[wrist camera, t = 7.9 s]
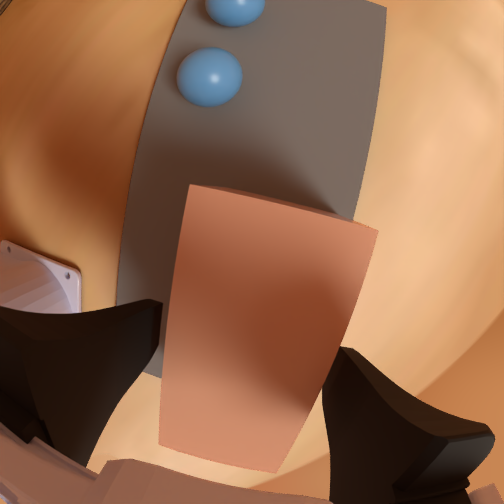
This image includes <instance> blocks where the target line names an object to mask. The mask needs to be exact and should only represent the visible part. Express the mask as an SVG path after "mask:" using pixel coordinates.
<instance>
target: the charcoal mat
mask: <svg viewBox="0 0 504 504" xmlns="http://www.w3.org/2000/svg"><path fill="white" fill-rule="evenodd" d="M386 11H387V8H386V7H383V6H381V5H378V4H375V3H372V2H369V1H366V0H265V7H264V10H263V12H262V14H261V15H260V16H259V17H258V18H257V19H256V20H255V21H254V22H252V23H250V24H248V25H245V26H241V27H228V26H224V25H221V24H219V23H217V22H215V21H214V20H213V19H212V18H211V17H210V16H209V14H208V13H207V11H206V7H205V0H187V2H186V4H185V7H184V9H183V11H182V13H181V16H180V18H179V20H178V23H177V25H176V27H175V30H174V32H173V35H172V37H171V40H170V43H169V45H168V48H167V50H166V53H165V56H164V59H163V62H162V64H161V67H160V70H159V73H158V76H157V79H156V82H155V86H154V89H153V92H152V95H151V99H150V102H149V106H148V109H147V113H146V116H145V120H144V124H143V128H142V132H141V136H140V140H139V144H138V148H137V153H136V157H135V162H134V167H133V172H132V177H131V182H130V188H129V193H128V199H127V205H126V212H125V218H124V226H123V233H122V241H121V250H120V260H119V272H118V285H117V303H116V306H119V305H123V304H127V303H131V302H135V301H139V300H143V299H153V300H156V301H159V302H162V303H163V310H162V319H161V328H160V338H159V346H158V347H157V349H156V351H155V353H154V355H153V357H152V358H151V360H150V362H149V363H148V365H147V366H146V367H145V369H144V370H143V372H145V373H148V374H151V375H153V376H156V377H159V378H162V370H163V359H164V348H165V338H166V329H167V320H168V312H169V304H170V296H171V289H172V282H173V275H174V268H175V262H176V256H177V250H178V244H179V238H180V232H181V227H182V221H183V216H184V210H185V205H186V200H187V195H188V190H189V186H190V184H194V185H206V186H217V187H227V188H232V189H237V190H241V191H246V192H250V193H255V194H259V195H263V196H268V197H272V198H276V199H280V200H284V201H288V202H292V203H296V204H300V205H304V206H308V207H312V208H316V209H320V210H323V211H327V212H331V213H335V214H338V215H341V216H343V217H346V218H348V219H351V220H353V217H354V213H355V209H356V205H357V201H358V197H359V193H360V188H361V184H362V180H363V175H364V171H365V166H366V161H367V156H368V151H369V146H370V141H371V136H372V130H373V125H374V119H375V113H376V107H377V100H378V93H379V86H380V78H381V70H382V62H383V52H384V41H385V28H386ZM205 47H217V48H222V49H224V50H226V51H228V52H230V53H231V54H233V55H234V56H235V57H236V59H237V60H238V61H239V63H240V65H241V68H242V74H243V78H242V83H241V86H240V89H239V90H238V92H237V93H236V95H235V96H234V97H233V98H232V99H231V100H229V101H228V102H226V103H224V104H222V105H219V106H215V107H201V106H197V105H194V104H192V103H190V102H189V101H188V100H186V99H185V98H184V97H183V95H182V94H181V93H180V91H179V89H178V86H177V71H178V68H179V66H180V64H181V62H182V61H183V60H184V59H185V57H187V56H188V55H189V54H190V53H192V52H194V51H195V50H198V49H201V48H205Z"/></svg>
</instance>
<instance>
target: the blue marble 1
mask: <svg viewBox="0 0 504 504" xmlns="http://www.w3.org/2000/svg"><path fill="white" fill-rule="evenodd" d="M205 7H206V11H207V13H208V14H209V16H210V17H211V18H212V19H213V20H214V21H215V22H217V23H219V24H221V25H224V26H228V27H241V26H245V25H248V24H250V23H252V22H254V21H255V20H256V19H257V18H258V17H259V16H260V15H261V14H262V12H263V10H264V7H265V0H205Z"/></svg>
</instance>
